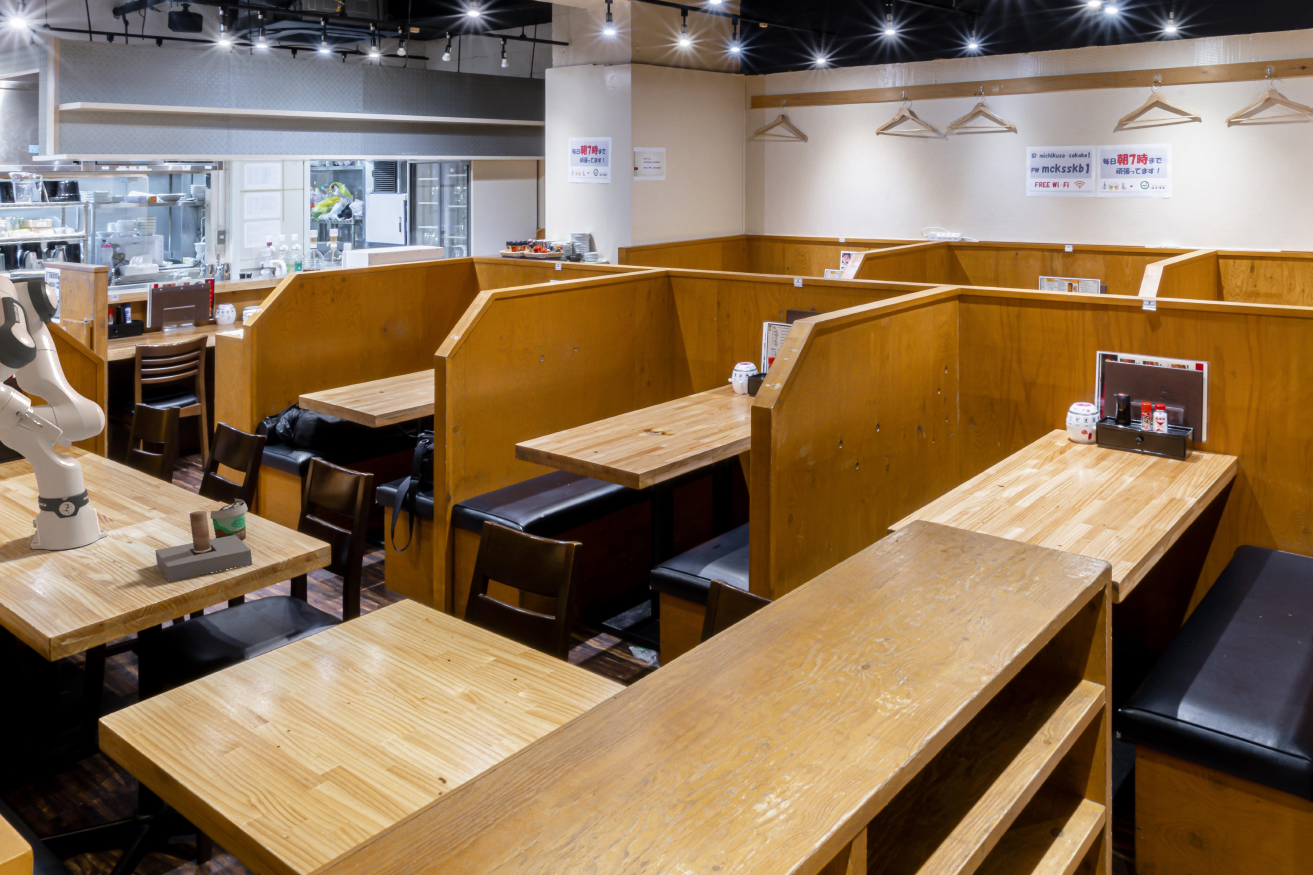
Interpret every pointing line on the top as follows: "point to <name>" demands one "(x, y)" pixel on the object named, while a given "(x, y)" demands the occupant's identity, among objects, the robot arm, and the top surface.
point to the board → (203, 558)
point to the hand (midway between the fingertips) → (62, 442)
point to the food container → (230, 520)
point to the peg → (200, 532)
